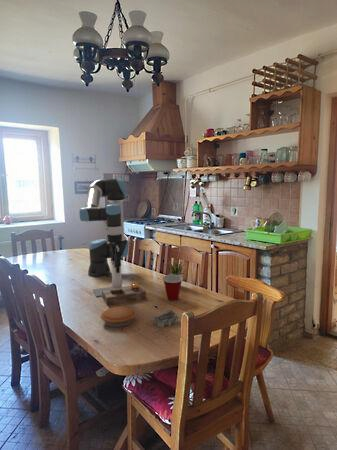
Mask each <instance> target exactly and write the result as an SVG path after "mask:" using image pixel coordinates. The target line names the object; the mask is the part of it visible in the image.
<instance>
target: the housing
mask: <svg viewBox="0 0 337 450" xmlns="http://www.w3.org/2000/svg"><path fill="white" fill-rule="evenodd" d="M101 297H102V299H103V301H104V303H105V304H106V306H113V305H118V304H125V303H130V302H136V301H142V300H146V299H147V291H146V290H145V289H144V288H143V287H141V285H139V288H138V289H137V290H134V289H131V285H127V286H122V287H121V288H118V289H114V288H113V289H107V290H102V296H101Z"/></svg>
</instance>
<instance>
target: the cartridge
mask: <svg viewBox="0 0 337 450" xmlns="http://www.w3.org/2000/svg"><path fill="white" fill-rule="evenodd" d="M110 265H111V267H110V268H111V287H112V288H114V289H118V288H121V287H123V285H122V284H123V283H122V282H123V281H122V265H121V266H120V277H121V278H118V279H115V267H114V266H115V261H111V264H110Z"/></svg>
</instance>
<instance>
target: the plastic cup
mask: <svg viewBox="0 0 337 450" xmlns="http://www.w3.org/2000/svg"><path fill="white" fill-rule="evenodd" d="M171 274H172V273H171ZM171 274H166V275H164V276H162V280H163V283H164V288H165V289H164V290H165V292H166V298H167V300H168V301H172V302H175V300H176V301H178V300H179V298H180V297H179V296H180V293H181V287H180V286H182V282H183V279H184V277H183V276H182V275H181V276H182V277H181V276H179V275H174V274H172V275H171Z"/></svg>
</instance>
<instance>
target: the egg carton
mask: <svg viewBox="0 0 337 450" xmlns="http://www.w3.org/2000/svg"><path fill="white" fill-rule="evenodd" d="M152 318H153V324H154V325H157V326H156V327H158V328H159V327H160V328H164V327H165V326H171V324H176V325H177V324H178V322H179V318H180V316H179V315H178V314H176V313H175V312H174V310H173V309H169V310H167V311H165V312H164V313H161V314H158V315H155V316H152Z"/></svg>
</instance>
